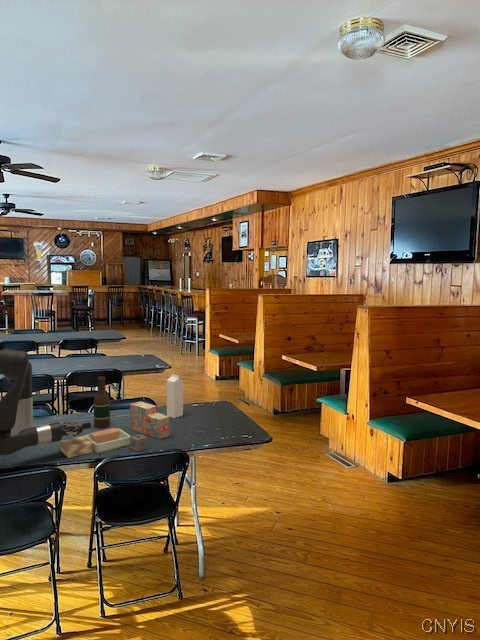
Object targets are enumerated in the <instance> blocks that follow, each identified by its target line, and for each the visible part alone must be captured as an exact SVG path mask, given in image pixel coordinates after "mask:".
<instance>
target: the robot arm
mask: <svg viewBox="0 0 480 640" xmlns="http://www.w3.org/2000/svg"><path fill="white" fill-rule="evenodd" d="M29 357H30V355H29V352H27V351H24V350H16V349H8V348H7V349H5V348H4V349H0V375H3V376H4V378H5V380H6V381H7V383H9V384H13V385H12V386H11V387H10V389H9V390H8V391H7V392H6V393H5V394H4V395H3V396H2V398H1V399H0V456H9V455H11V454H13V453H16V452H18V451H21V450H23V449H24V448H29V447H33V446H39V445H47V444H51V443H56V442H60V441H62V440H63V437H64V436H66V437H67V436H71V435H72V437H76V436H77V437H78V435H80V434H81V433H82V434H83V430H88V429H91V428H92V423H91V422H90V421H88V422H83V423H80V422H75V421H73V422H70V421H68V422H66V421H64V422H63V424H61V423H60V422H59V421H57V422H51V423H45V424H40V425H37V426H34V413H33V412H34V407H33V405H34V404H33V401H34V400H33V387H32V386H33V383H32V382H33V366H32V363H31V362H30V358H29Z"/></svg>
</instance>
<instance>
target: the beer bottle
mask: <svg viewBox="0 0 480 640" xmlns="http://www.w3.org/2000/svg"><path fill="white" fill-rule="evenodd" d="M93 424H94V425H93V426H94V428H97V429H106V428H109V427H110V425H111V400H110V397H109V395H108V394H107V389H106V377H105V376H98V377H97V393H96V395H95V397H94V400H93Z"/></svg>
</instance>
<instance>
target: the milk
mask: <svg viewBox="0 0 480 640" xmlns="http://www.w3.org/2000/svg"><path fill="white" fill-rule="evenodd" d="M182 415H183V416H184V380H183V379H182V378H180V376H179V374H176V373H170V377H169V378H168V379H166V416H169V417H170V418H172V419H176V417H177V418H180V417H182ZM179 416H180V417H179Z"/></svg>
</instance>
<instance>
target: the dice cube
mask: <svg viewBox="0 0 480 640" xmlns="http://www.w3.org/2000/svg"><path fill="white" fill-rule="evenodd" d="M129 448H130V449H131V450H134V451H135V452H140V451H143V450H145V449H148V437H147V436H145V435H143V434H142V433H141V434H136V435H133V436H132V437H130V445H129Z"/></svg>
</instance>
